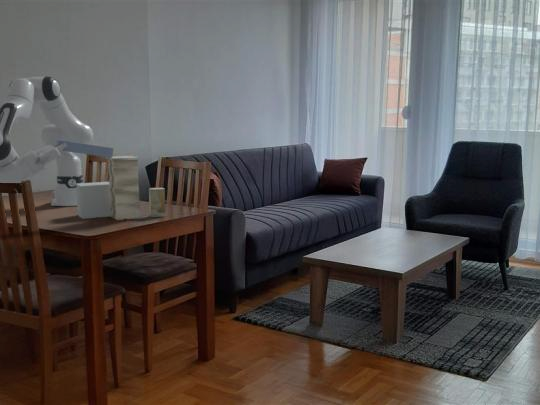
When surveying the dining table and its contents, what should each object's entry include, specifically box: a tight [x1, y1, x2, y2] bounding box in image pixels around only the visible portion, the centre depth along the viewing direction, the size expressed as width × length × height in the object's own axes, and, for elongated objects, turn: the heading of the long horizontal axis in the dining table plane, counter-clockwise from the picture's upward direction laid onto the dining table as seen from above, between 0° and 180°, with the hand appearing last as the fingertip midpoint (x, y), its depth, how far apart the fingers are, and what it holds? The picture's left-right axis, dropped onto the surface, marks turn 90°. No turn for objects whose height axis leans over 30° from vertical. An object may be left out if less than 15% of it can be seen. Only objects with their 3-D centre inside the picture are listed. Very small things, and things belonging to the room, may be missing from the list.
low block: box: [76, 181, 111, 220], centre depth 270 cm, size 10×14×14 cm
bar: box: [56, 139, 114, 158], centre depth 255 cm, size 4×22×4 cm, turn 117°
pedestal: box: [106, 155, 141, 221], centre depth 264 cm, size 11×11×26 cm
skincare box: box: [148, 187, 166, 218], centre depth 268 cm, size 6×4×12 cm
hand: (65, 143), depth 251 cm, fingers closed on bar, 4 cm apart
